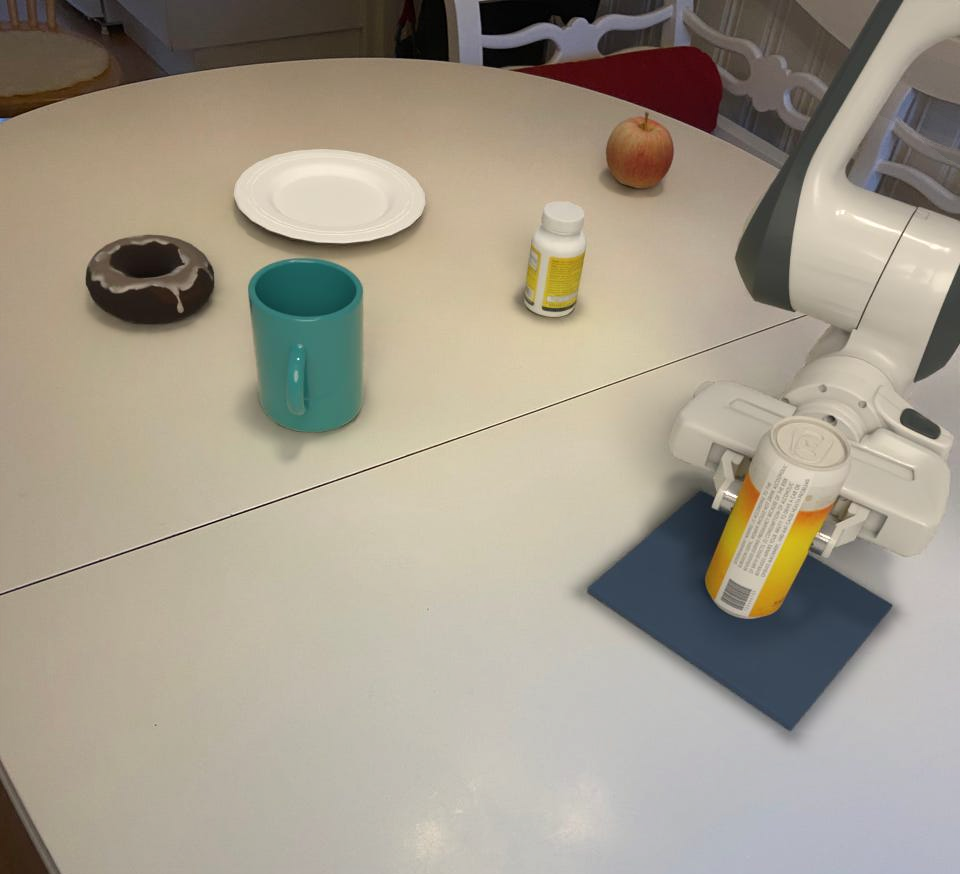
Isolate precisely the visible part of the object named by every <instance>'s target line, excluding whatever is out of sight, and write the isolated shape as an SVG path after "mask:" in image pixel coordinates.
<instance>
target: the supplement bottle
mask: <svg viewBox="0 0 960 874" xmlns="http://www.w3.org/2000/svg"><path fill="white" fill-rule="evenodd" d="M585 216H586V213H585V211H584V209H583V208H582V206H580V205H578V204H576V203H573V202H570V201H566V200H554V201H550V202H548V203H546V204H545V205H544V206H543V209H542V215H541V221H540V222H541V224H540V225H538V227H536V229H535V230H534V231H533V233H532V235H531V239H530V246H529V247H530V248H529V254H528V261H527V269H526V275H525V276H526V277H525V282H524V283H525V284H524V291H523V302H524V305H525V307H526V308H527V309H528V310H530V311H532V312H533V313H535V314H537V315H539V316H544V317H551V318H557V317H563V316H566V315H569V314H570V313H572V312H573V311H574V309H575V307H576V304H577V299H578V294H579V289H580V283H581V278H582V273H583V267H584V263H585V262H584V261H585V257H586V252H587V251H586V250H587V237H586V235H585V233H584V232H583V231H582V230H583V227H584V221H585Z"/></svg>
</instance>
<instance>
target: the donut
mask: <svg viewBox="0 0 960 874" xmlns="http://www.w3.org/2000/svg"><path fill="white" fill-rule="evenodd" d="M85 285H86V286H85V287H86V288H87V290H88V292H89V295H90V297H91V299H92V300H93V301H94V303H95V304H96V305H97V306H98V307H99V308H101V309H102V310H103V311H104V312H105V313H107V314H109V315H111V316H113V317H115V318H117V319H120V320H122V321H126V322H131V323H135V324H149V325H156V324H165V323H172V322H175V321H178V320H182V319H185V318H187V317H190V316H191V315H193V314H195V313H197V312H198V311H199V310H200V309H201V308H203V306H204V305H206V304H207V303H208V302H209V300H210V298H211V296H212V294H213V292H214V289H215V271H214V267H213V265H212V264H211V262H210V260H209V259H208V257H207V256H206V254H205V253H204V252H203V251H201V250H200V249H199V248H197V247H196V246H195V245H193V244H192V243H190V242H188V241H186V240H183V239H182V238H181V239H180V238H177V237H173V236H167V235H161V234H139V235H131V236H128V237H123V238H120V239H117V240H115V241H111V242H110V243H107V244H106V245H104V246H103V247H101V248H100V249H99V250H97V251H96V252H95V253H94V254H93V256H92V257H91V259H90V260H89V262H88V263H87V267H86V271H85Z"/></svg>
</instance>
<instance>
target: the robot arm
mask: <svg viewBox="0 0 960 874" xmlns="http://www.w3.org/2000/svg"><path fill="white" fill-rule="evenodd" d="M956 36H960V0H878V2H877V3H876V5H875V7H874V8H873V10H872V11H871V13H870V15H869V17H868V18H867V20H866V22H865V23H864V25H863V27H862V28H861V30H860V31H859V33H858V35H857V37H856V38H855V40H854V42H853V44H852V45H851V47H850V49H849V51H848V52H847V54H846V56H845V58H844V60H843V61H842V63H841V65H840V66H839V68H838V70H837V71H836V73H835V75H834V77H833V78H832V80H831V82H830V84H829V85H828V87H827V89H826V90H825V93H824V95H823V96H822V97H821V100H820V101H819V103H818V104H817V107H816V109H815V110H814V112H813V113H812V115H811V116H810V119H809V121H808V122H807V124H806V126H805V127H804V129H803V131H802V132H801V134H800V136H799V138H798V139H797V142H796V143H795V144H794V147H793V148H792V150H791V151H790V153H789V154H788V157H787V159H786V160H785V162H784V163H783V165H782V167H781V168H780V169H779V171H778V173H777V174H776V176H775V177H774V179H773V180H772V182H771V183H770V184H769V185H768V187H767V188H766V189H765V191H764V192H763V193H762V194H761V196H760V197H759V198H758V200H757V202H756V203H755V204H754V206H753V208H752V209H751V212H749V214H748V216H747V218H746V220H745V222H744V224H743V227H742V229H741V232H740V234H739V238H738V241H737V248H736V252H735V255H734V261H735V264H736V268H737V271H738V273H739V276H740V279H741V280H742V282H743V284H744V286H745V288H746V290H747V292H748V294H749V295H750V297H751V298H752V299H753V300H752V301H754V302H756V303H759V304H763V305H767V306H770V307H772V308H773V307H774V308H777V309H781V310H784V311H787V312H791V313H796V312H797V313H800V314H803V315H805V316H808V317H810V318H812V319H815V320H817V321H820V322H822V323H825V324H828V325H829V327H827V328H826V330H825V331H824V332H823V334H822V335H821V336H820V337H819V339H818V340H817V342H816V343H815V344H814V346H813V347H812V348H811V350H810V351H809V354H808V355H807V356H806V359H805V361H804V365H803V366H802V367H801V368H800V369H799V370H798V371H796V373H795V375H794V376H793V378H792V379H791V381H790V382H789V384H788V385H787V387H786V389H785V390H784V392H782V395H781V396H780V398H775V397H773V396H771V395H768V394H765V393H763V392H760V391H759V390H756V389H753V388H751V387H748V386H746V385H744V384H740V383H738V382H734V381H730V380H719V381H709V380H706V381H704V382H702V383H701V384H700V386H698V388H697V389H696V390H695V392H694V393H693V394H692V397H691V399H690V400H689V401H688V402H687V403H686V404H685V405H684V406H683V407H682V408H681V410H680V411H679V412H678V413H677V416H676V418H675V420H674V424H673V426H672V429H671V432H670V436H669V441H668V446H669V450H670V452H671V454H672V456H673V457H674V458H675V459H678V460H680V461H682V462H685V463H686V464H688V465H691V466H693V467H697V468H699V469H701V470H703V471H705V472H707V473H710V474H713V475H714V477H713V479H712V480H713V482H714V486H715V491H716V494H715V497H714V498H715V499H714V502H713V504H712V508H713V509H716V510H718V511H720V512H723V513H725V514H727V515H730V514H731V512H732V509H733V507H734V505H735V502H736V499H737V496H738V494H739V491H740V489H741V486H742V484H743V481H744V479H745V476H746V474H747V471H748V469H749V467H750V464H751V462H752V459H753V457H754V454H755V452H756V449H757V447H758V444H759V442H760V439H761V437H762V436H763V435H764V434H765V433H766V432H767V431H768V430H770V429H771V428H772V427H773V425H774V424H775V423H776V422H777V421H779V420H780V419H783V418H785V417H790V416H807V417H812V418H816V419H820V420H822V421H825V422H827V423H829V424H831V425H832V426H834V427H836V428H837V429H838V430H840V431H841V432H842V433H843V434H844V435H845V436H846V438H847V439H848V441H849V443H850V445H851V456H850V460H851V470H850V473H849V475H848V477H847V478H846V480H845V482H844V484H843V486H842V488H841V490H840V492H839V494H838V496H837V498H836V500H835V502H834V504H833V506H832V508H831V510H830V512H829V513H828V515H827V517H826V519H825V521H824V523H823V525H822V527H821V529H820V531H819V532H818V533H817V534H816V536H815V538H814V540H813V541H812V542H813V543H812V544H811V545H810V547H809V549H808V550H809V552H811V553H813V554H815V555H817V556H820V557H821V558H824V559H826V560H828V559H829V557H830V555H831V554H832V551H833V550H834V548H837V547H839V546H842V545H846V544H849V543H850V542H851V543H852V542H854V541H856V538H857V537H858V538H859V539H862V540H864V541H867V542H869V543H872V544H873V545H876V546H878V547H881V548H882V549H885V550H887V551H890V552H891V553H895V554H897V555H898V556H901V557H903V558H912V557H916V556H919V555H921V554H922V553H923V552H925V550H926V549H927V547H928V546H929V545H930V543H931V542H932V540H933V538H934V536H935V535H936V533H937V532H938V530H939V528H940V526H941V525H942V522H943V519H944V517H945V514H946V510H947V507H948V503H949V498H950V494H951V487H952V486H951V485H952V472H951V468H950V466H949V465H948V463H947V462H946V461H947V459H948V457H949V455H950V453H951V451H952V448H953V445H954V443H955V437H954V435H953V434H952V432H950V431H949V430H948V429H946V428H944V427H943V426H942V425H939V424H938V423H936V422H935V421H933V420H932V419H930V418H929V417H927V416H926V415H924V414H923V413H921V412H920V411H919V410H917V409H916V408H915V407H913V405H911V404H910V403H908V400H909V398H910V396H911V394H912V392H913V390H914V388H915V385H916V383H917V382H920V381H921V382H922V381H923V380H925V379H927V378H929V377H931V376H932V375H934V374H935V373H937V372H939V371H940V370H942V369H943V368H944V367H946V365H947V364H948V363H949V362H950V360H951V359H952V357H953V355H954V354H955V353H956V352H957V349H958V347H959V346H960V220H958V219H956V218H953V217H951V216H947V215H945V214H942V213H939V212H937V211H934V210H931V209H927V208H925V207H922V206H918V207H917V206H915V205H912V204H908V203H906V202H903V201H900V200H897V199H894V198H892V197H888V196H885V195H883V194H880V193H877V192H875V191H871V190H869V189H866V188H863V187H860V186H857V185H855V184H853V182H851V180H849V179H848V177H847V173H846V170H847V166H848V164H849V162H850V161H851V160H852V158H853V156H854V155H855V153H856V151H857V150H858V148H859V146H860V145H861V143H862V141H863V140H864V138H865V136H866V135H867V134H868V132H869V131H870V129H871V127H872V125H873V124H874V122H875V120H876V119H877V117H878V116H879V114H880V112H881V111H882V109H883V107H884V106H885V104H886V103H887V101H888V99H889V98H890V97H891V94H892V93H893V91H894V90H895V88H896V86H897V85H898V83H899V82H900V80H901V79H902V77H903V75H904V74H905V73H906V71H907V70H908V68H909V67H910V66H911V64H912V63H913V62H914V61H915V60H916V59H917V58H918V57H919V56H920V55H922V54H923V53H924V52H926V51H927V50H928V49H929V48H931V47H934V46H935V45H937V44H938V43H940V42H943V41H945V40H948V39H951V38H954V37H956Z"/></svg>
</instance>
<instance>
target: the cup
mask: <svg viewBox="0 0 960 874" xmlns="http://www.w3.org/2000/svg"><path fill="white" fill-rule="evenodd" d="M247 295H248V305H249V314H250V315H249V316H250V324H251V331H252V332H251V333H252V340H253V341H252V342H253V352H254V363H255V371H256V381H257V388H258V389H257V391H258V398H259V403H260V406H261V408H262V410H263V412H264V414H265V415H267V417H268V418H270V419H271V421H273V422H275V423H276V424H278V425H280V426H282V427H284V428H286V429H290V430H293V431H297V432H303V433H304V432H305V433H322V432H328V431H332V430H335V429H338V428H340V427H343V426H345V425H346V424H348V423H349V422H351V421H352V420H354V419H355V417H356V416H358V414H359V413H360V411H361V410H362V407H363V404H364V394H365V393H364V392H365V390H364V389H365V388H364V387H365V386H364V385H365V383H364V382H365V381H364V380H365V379H364V372H365V370H364V367H365V366H364V361H365V360H364V357H365V356H364V355H365V354H364V353H365V351H364V348H365V347H364V286H363V284H362V282H361V280H360V279H359V277H358V275H356V274H355V273H354V272H352V271H351V270H350V269H348V268H347V267H344V266H343V265H341V264H338V263H336V262H333V261H329V260H327V259H326V260H325V259H320V258H313V257H312V258H311V257H296V258H295V257H294V258H288V259H287V258H286V259H282V260H278V261H277V260H276V261H275V262H271V263H270V264H267V265H265V266H263V267H262V268H260V269H258V270H257V271H256V272H255V273H254V274H253V275H252V277H251V278H250V280H249V282H248V285H247Z"/></svg>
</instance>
